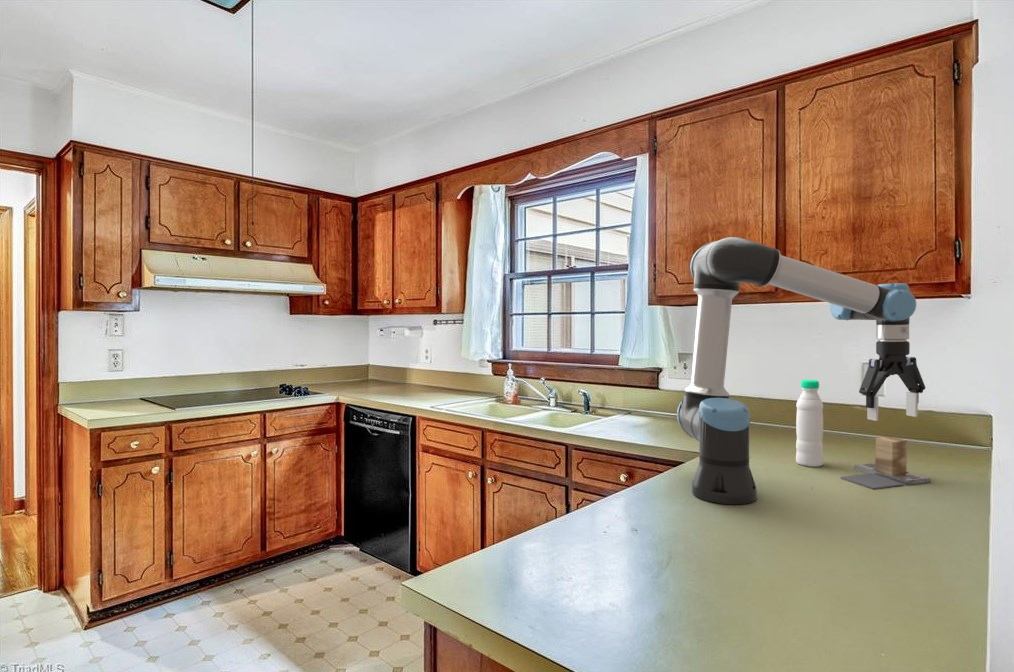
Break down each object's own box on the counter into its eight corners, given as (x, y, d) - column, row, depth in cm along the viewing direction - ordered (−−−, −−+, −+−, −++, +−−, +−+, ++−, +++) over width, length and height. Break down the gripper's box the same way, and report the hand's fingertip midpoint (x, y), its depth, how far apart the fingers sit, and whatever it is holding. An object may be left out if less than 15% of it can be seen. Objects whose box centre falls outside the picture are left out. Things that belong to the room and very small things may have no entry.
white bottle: (795, 465, 166) (796, 381, 165) (796, 460, 173) (796, 378, 171) (823, 468, 163) (824, 382, 162) (822, 462, 169) (823, 379, 168)
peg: (891, 478, 152) (892, 442, 152) (875, 473, 157) (875, 438, 157) (906, 477, 154) (906, 440, 153) (889, 472, 159) (889, 436, 158)
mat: (873, 489, 144) (873, 487, 144) (840, 478, 154) (840, 476, 154) (903, 485, 147) (903, 484, 147) (869, 474, 156) (869, 473, 156)
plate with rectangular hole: (906, 485, 147) (906, 480, 147) (854, 468, 162) (854, 464, 162) (930, 482, 149) (930, 477, 149) (876, 466, 164) (876, 462, 164)
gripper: (868, 343, 147) (868, 424, 148) (941, 339, 154) (941, 416, 155) (843, 341, 154) (844, 419, 155) (915, 338, 161) (914, 412, 162)
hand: (892, 418), depth 155 cm, fingers open, 13 cm apart
